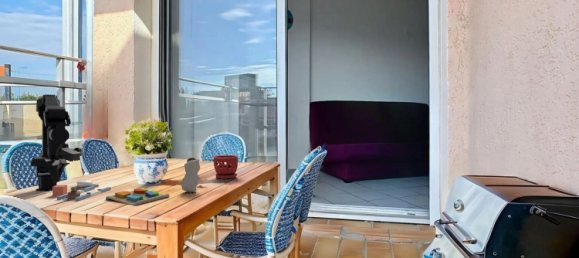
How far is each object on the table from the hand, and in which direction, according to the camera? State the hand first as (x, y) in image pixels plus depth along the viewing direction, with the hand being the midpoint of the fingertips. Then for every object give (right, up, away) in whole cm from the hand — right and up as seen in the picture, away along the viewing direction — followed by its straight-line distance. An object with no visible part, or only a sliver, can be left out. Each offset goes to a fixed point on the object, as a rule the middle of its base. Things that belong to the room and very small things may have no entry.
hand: (57, 181), depth 143 cm
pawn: (+1, -8, +9) cm, 12 cm away
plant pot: (+54, -6, +60) cm, 81 cm away
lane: (+2, -8, +16) cm, 18 cm away
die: (-8, -8, +14) cm, 18 cm away
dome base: (-5, -7, +29) cm, 30 cm away
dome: (-5, -6, +29) cm, 30 cm away
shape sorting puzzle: (+27, -9, +11) cm, 30 cm away
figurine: (+44, -8, +24) cm, 51 cm away
